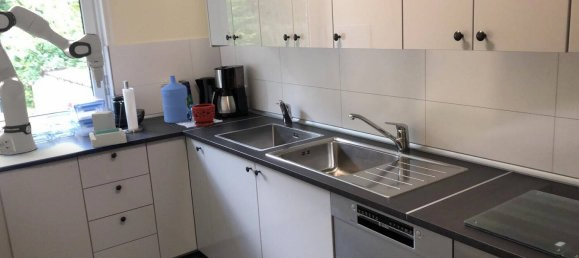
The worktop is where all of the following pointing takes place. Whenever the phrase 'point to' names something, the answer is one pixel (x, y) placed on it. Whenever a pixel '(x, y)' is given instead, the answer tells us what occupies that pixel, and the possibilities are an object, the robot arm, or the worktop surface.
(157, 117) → the worktop surface
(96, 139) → the white tray
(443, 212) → the worktop surface
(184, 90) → the water jug
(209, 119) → the plant pot
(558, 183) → the worktop surface
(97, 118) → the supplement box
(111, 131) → the pusher
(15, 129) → the robot arm
